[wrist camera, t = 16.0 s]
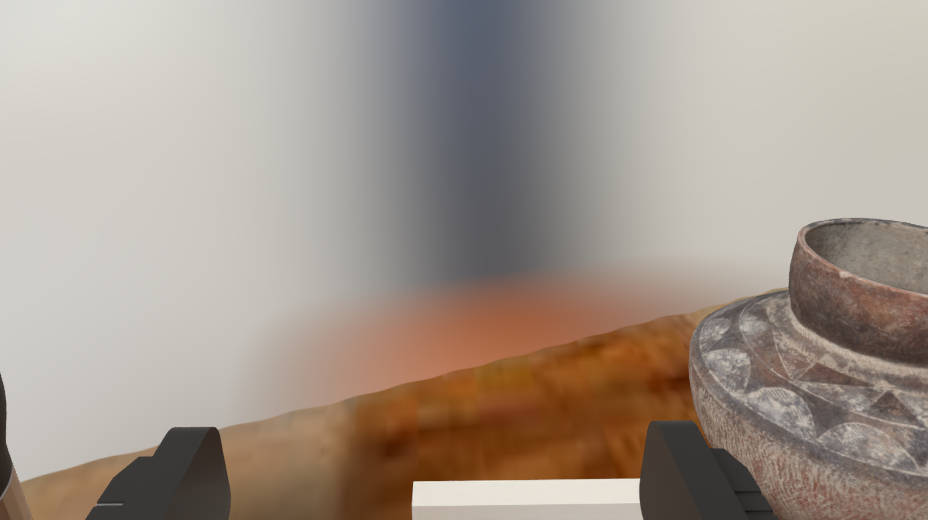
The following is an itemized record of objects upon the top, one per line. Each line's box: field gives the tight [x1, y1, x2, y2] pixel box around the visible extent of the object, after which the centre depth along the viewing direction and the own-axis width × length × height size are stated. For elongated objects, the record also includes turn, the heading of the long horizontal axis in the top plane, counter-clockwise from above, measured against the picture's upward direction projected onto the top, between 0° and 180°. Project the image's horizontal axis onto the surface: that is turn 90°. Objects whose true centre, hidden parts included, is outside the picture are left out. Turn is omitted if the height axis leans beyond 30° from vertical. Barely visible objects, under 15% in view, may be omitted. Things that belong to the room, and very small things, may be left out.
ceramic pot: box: [689, 218, 928, 520], centre depth 47 cm, size 25×25×24 cm
